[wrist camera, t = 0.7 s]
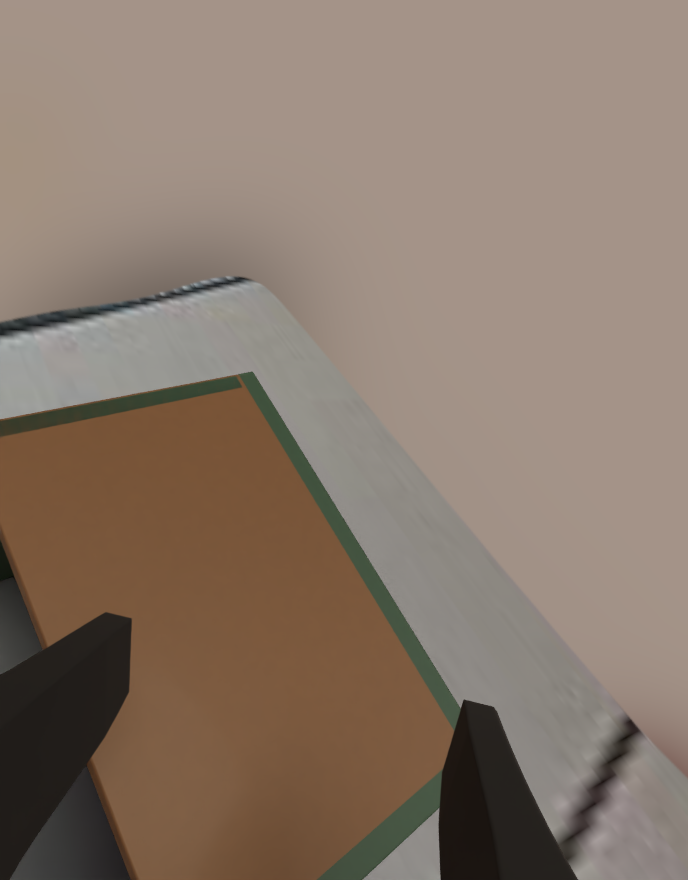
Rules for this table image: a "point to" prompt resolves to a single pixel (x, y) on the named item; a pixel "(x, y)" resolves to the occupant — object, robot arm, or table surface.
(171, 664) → the cabinet
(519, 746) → the table surface
